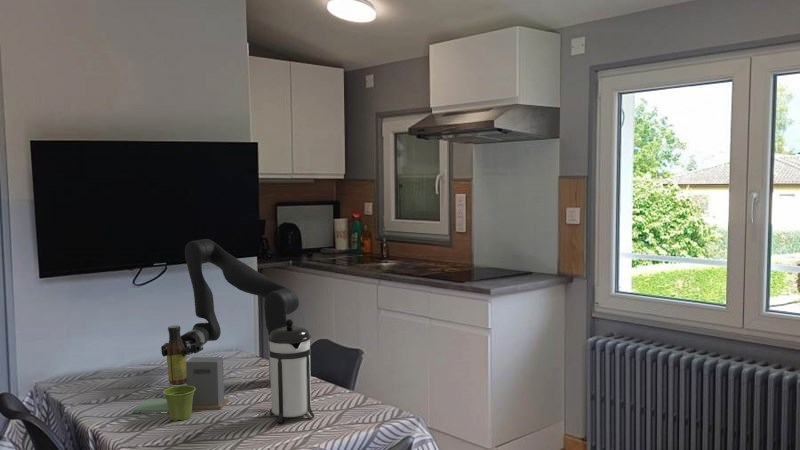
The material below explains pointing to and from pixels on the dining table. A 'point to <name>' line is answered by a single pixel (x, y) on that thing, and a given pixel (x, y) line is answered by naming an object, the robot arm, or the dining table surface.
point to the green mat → (153, 406)
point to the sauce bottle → (176, 357)
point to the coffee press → (290, 372)
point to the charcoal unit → (206, 382)
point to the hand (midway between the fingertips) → (173, 353)
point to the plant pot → (179, 401)
